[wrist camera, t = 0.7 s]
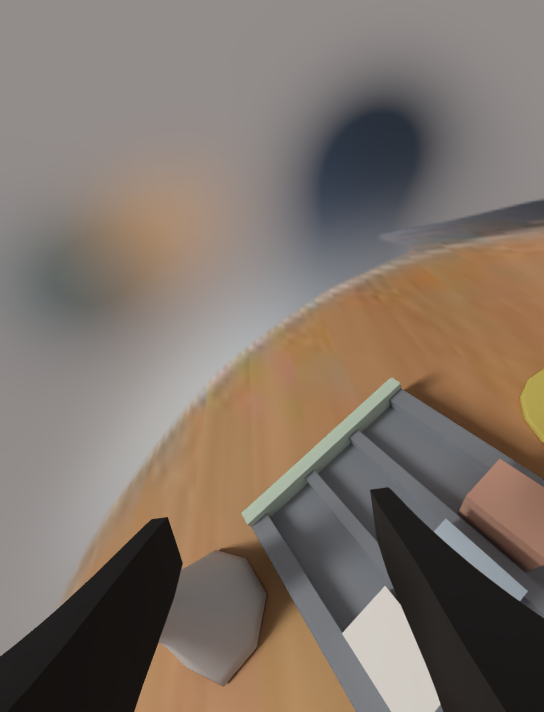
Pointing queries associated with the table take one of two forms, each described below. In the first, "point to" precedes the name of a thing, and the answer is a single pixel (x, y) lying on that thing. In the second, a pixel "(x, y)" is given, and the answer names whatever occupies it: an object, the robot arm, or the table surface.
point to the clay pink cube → (509, 514)
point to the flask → (215, 616)
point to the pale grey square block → (392, 655)
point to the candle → (534, 404)
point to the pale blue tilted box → (479, 559)
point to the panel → (371, 517)
